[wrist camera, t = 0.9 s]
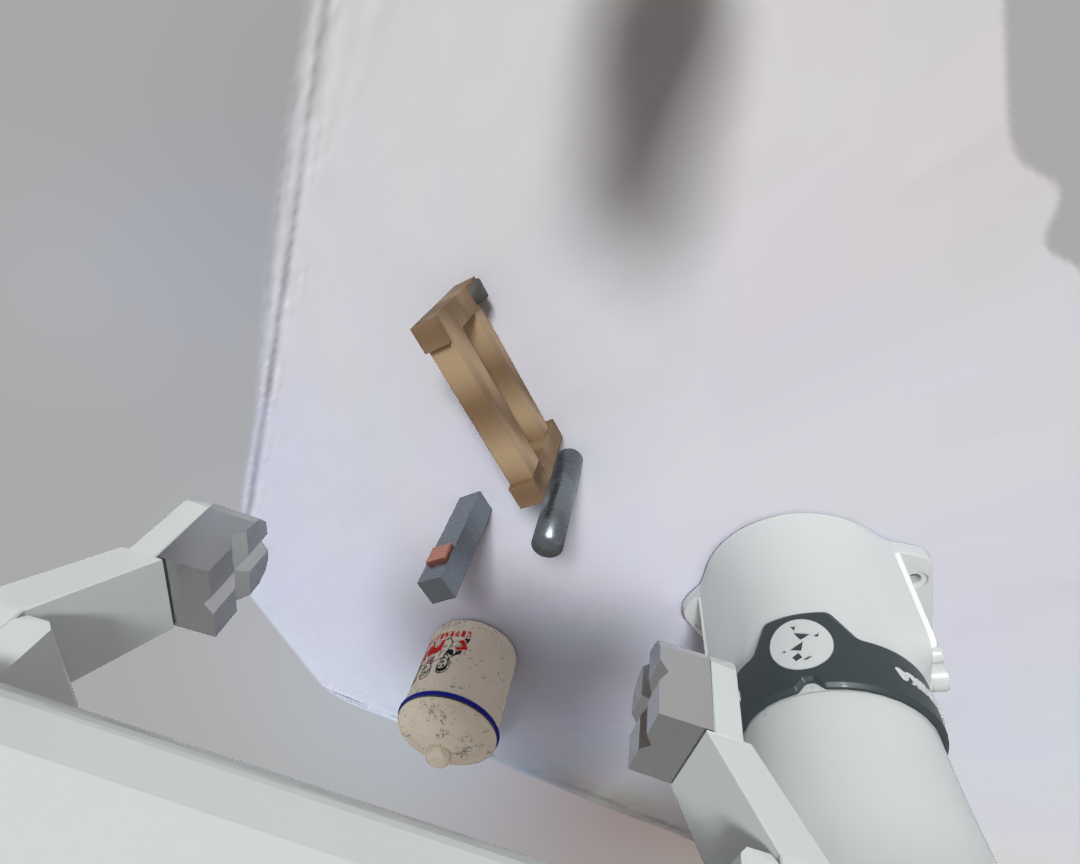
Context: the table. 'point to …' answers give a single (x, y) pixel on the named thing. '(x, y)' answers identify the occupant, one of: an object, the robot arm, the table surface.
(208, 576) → the robot arm
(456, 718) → the teacup with lid
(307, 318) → the table surface
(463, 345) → the gate
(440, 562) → the posts
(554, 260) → the table surface
